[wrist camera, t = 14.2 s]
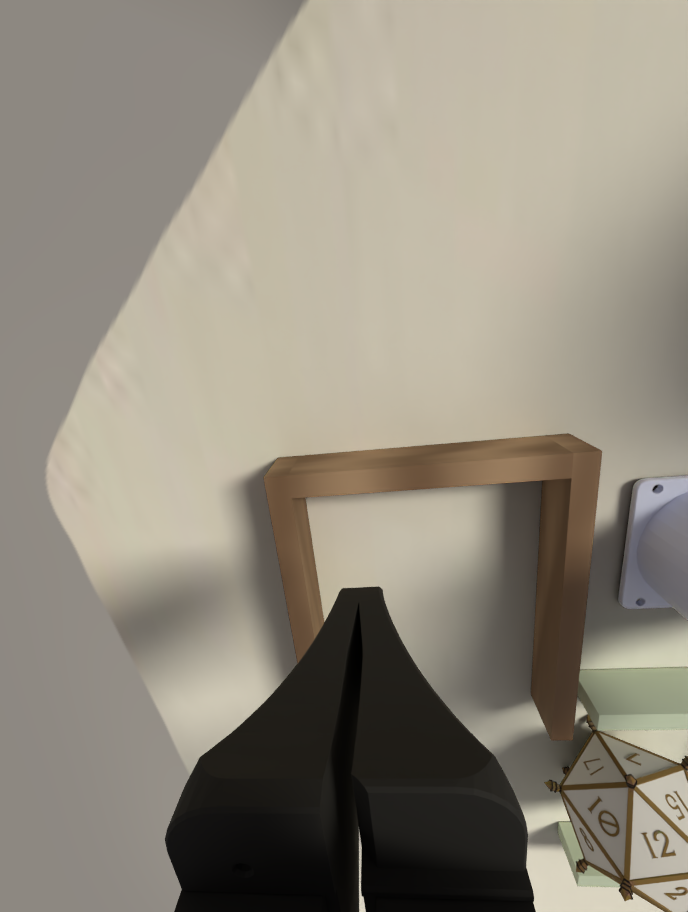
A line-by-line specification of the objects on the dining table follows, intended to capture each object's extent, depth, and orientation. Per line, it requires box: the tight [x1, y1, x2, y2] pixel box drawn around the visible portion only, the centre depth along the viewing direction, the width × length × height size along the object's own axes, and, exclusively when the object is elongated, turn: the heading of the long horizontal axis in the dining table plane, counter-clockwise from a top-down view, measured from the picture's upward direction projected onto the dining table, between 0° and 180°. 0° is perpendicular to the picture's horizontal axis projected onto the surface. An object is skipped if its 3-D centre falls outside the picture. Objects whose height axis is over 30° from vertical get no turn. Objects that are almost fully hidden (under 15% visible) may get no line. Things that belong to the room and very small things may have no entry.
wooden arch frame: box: [263, 434, 602, 740], centre depth 22 cm, size 15×18×3 cm
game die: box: [544, 715, 688, 912], centre depth 23 cm, size 9×8×10 cm
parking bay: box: [558, 667, 688, 887], centre depth 25 cm, size 12×16×3 cm
